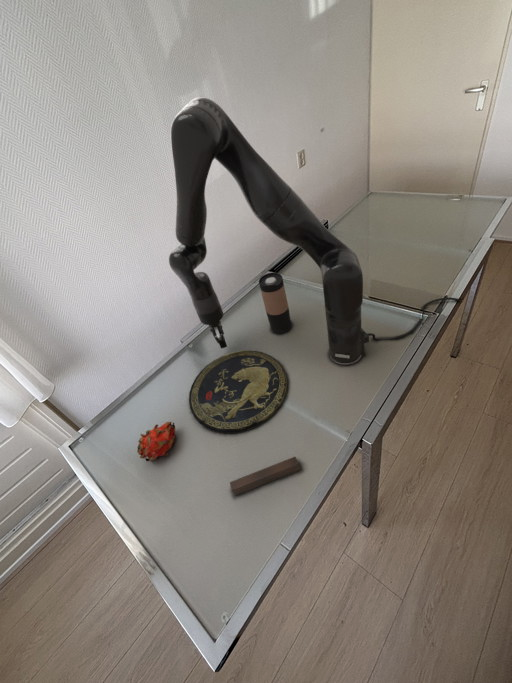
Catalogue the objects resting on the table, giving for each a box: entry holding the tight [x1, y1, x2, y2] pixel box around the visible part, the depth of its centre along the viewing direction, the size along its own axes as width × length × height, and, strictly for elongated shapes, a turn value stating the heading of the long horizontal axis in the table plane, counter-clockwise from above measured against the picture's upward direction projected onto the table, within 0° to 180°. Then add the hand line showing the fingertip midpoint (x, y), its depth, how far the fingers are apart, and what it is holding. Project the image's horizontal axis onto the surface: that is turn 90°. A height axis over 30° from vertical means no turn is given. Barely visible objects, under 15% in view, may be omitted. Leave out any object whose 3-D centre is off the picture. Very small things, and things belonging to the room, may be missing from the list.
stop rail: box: [229, 456, 301, 496], centre depth 73 cm, size 16×2×3 cm, turn 106°
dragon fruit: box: [136, 421, 177, 462], centre depth 84 cm, size 8×8×12 cm
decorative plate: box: [188, 349, 288, 434], centre depth 95 cm, size 30×2×30 cm
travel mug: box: [258, 272, 292, 335], centre depth 105 cm, size 8×8×20 cm
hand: (223, 346), depth 108 cm, fingers closed
